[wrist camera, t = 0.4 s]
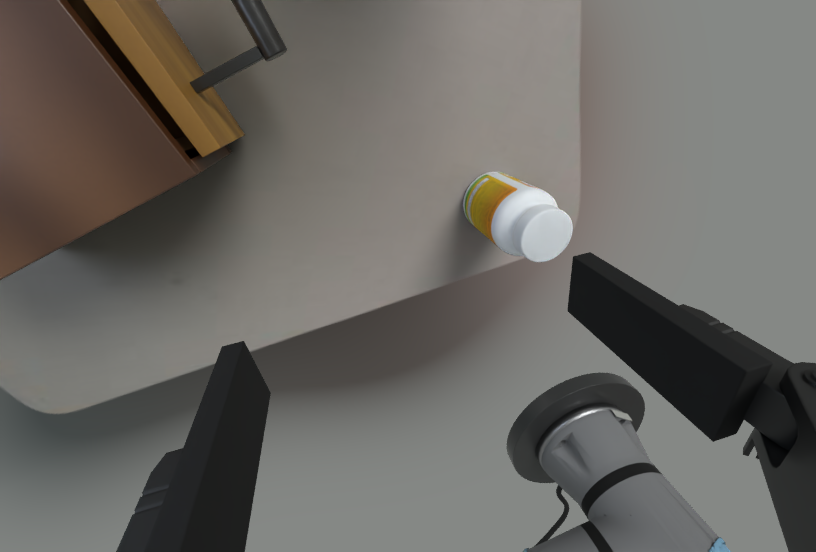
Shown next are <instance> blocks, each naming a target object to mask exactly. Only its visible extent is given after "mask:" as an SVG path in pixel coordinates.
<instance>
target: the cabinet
mask: <svg viewBox="0 0 816 552" xmlns="http://www.w3.org/2000/svg"><path fill="white" fill-rule="evenodd" d="M230 153H232V150H231V149H230V148H229V146H228V145H226V146H224V147H222V148H220V149H218V150H216V151H214V152H212V153H210V154H209V155H207V156H205V157H202V156H201V155H200V154H199V152H198V151H197V150H196V149H194V150H192V151H190V152H188V153H185V152H184V150H183V149H182V148H181V146H180V145H179V144H178V143H177V141H176V140H175V139H174V137H173V136H172V135H171V134H170V132H169V131H168V130H167V128H166V127H165V126H164V125H163V123H162V122H161V121H160V119H159V118H158V117H157V116H156V114H155V113H154V112H153V110H152V109H151V108H150V107H149V105H148V104H147V103H146V101H145V100H144V99H143V98H142V96H141V95H140V94H139V93H138V91H137V90H136V89H135V87H134V86H133V85H132V84H131V82H130V81H129V80H128V78H127V77H126V76H125V75H124V73H123V72H122V71H121V69H120V68H119V67H118V66H117V64H116V63H115V62H114V60H113V59H112V58H111V57H110V55H109V54H108V53H107V51H106V50H105V49H104V48H103V46H102V45H101V44H100V42H99V41H98V40H97V39H96V37H95V36H94V35H93V33H92V32H91V31H90V30H89V28H88V27H87V26H86V24H85V23H84V22H83V21H82V19H81V18H80V17H79V15H78V14H77V13H76V12H75V10H74V9H73V8H72V6H71V5H70V4H69V3H68V1H67V0H0V280H1V279H3V278H5V277H7V276H9V275H11V274H13V273H15V272H16V271H18V270H20V269H22V268H24V267H26V266H28V265H30V264H31V263H33V262H35V261H37V260H39V259H41V258H43V257H45V256H46V255H48V254H50V253H52V252H54V251H56V250H58V249H60V248H61V247H63V246H65V245H67V244H69V243H71V242H73V241H75V240H76V239H78V238H80V237H82V236H84V235H86V234H88V233H90V232H91V231H93V230H95V229H97V228H99V227H101V226H103V225H105V224H106V223H108V222H110V221H112V220H114V219H116V218H118V217H120V216H121V215H123V214H125V213H127V212H129V211H131V210H133V209H135V208H136V207H138V206H140V205H142V204H144V203H146V202H148V201H150V200H151V199H153V198H155V197H157V196H159V195H161V194H163V193H165V192H166V191H168V190H170V189H172V188H174V187H176V186H178V185H180V184H182V183H183V182H185V181H187V180H189V179H191V178H193V177H195V176H196V175H198V174H199V173H201V172H203V171H204V170H206V169H207V168H209V167H210V166H212V165H214V164H215V163H217V162H218V161H220V160H221V159H223V158H224V157H226V156H227V155H229V154H230Z"/></svg>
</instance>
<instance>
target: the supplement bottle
mask: <svg viewBox="0 0 816 552" xmlns="http://www.w3.org/2000/svg"><path fill="white" fill-rule="evenodd" d="M463 208H464V213H465V216H466V217H467V219H468V221H469V222H470V223H471V224H472V225H473V226H475V227H476V228H477V229H478V230H479V231H480V232H482V233H483V234H484V235H485V236H486V237H487V238H489V239H490V240H491V241H492V242H493V243H494V244H495V245H496V246H498V247H499V248H500V249H502V250H503V251H504V252H506V253H508V254H511V255H514V256H524V257H526V258H527V259H529V260H531V261H534V262H545V261H548V260H551V259H553V258H555V257H556V256H557V255H559V254H560V253H561V252H562V251H563V250H564V249H565V248H566V246H567V245H568V243H569V241H570V239H571V236H572V230H573V227H572V221H571V219H570V217H569V216H568V215H567V214H566V213H565V212H564V211H562V210H560V209H558V206H557V203H556V201H555V200H554V198H553V197H552V196H551V195H550V194H548V193H547V192H545V191H543V190H541V189H539V188H537V187H535V186H532V185H530V184H528V183H525V182H523V181H521V180H519V179H516V178H514V177H512V176H510V175H507V174H505V173H501V172H488V173H485V174H483V175H481V176H479V177H478V178H476V179H475V180H474V181H473V182H472V183H471V184H470V186H469V187H468V189H467V191H466V193H465V196H464V201H463Z"/></svg>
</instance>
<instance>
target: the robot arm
mask: <svg viewBox="0 0 816 552" xmlns="http://www.w3.org/2000/svg"><path fill="white" fill-rule="evenodd" d="M568 312H569V313H570V314H571V315H573V316H574V317H575V318H576V319H577V320H578V321H579V322H580V323H582V324H583V325H584V326H585V327H586V328H587V329H588V330H589V331H591V332H592V333H593V334H594V335H595V336H596V337H597V338H598V339H599V340H600V341H602V342H603V343H604V344H605V345H606V346H607V347H608V348H609V349H610V350H612V351H613V352H614V353H615V354H616V355H617V356H618V357H620V359H622V360H623V361H624V362H625V363H626V364H627V365H628V366H629V367H631V368H632V369H633V370H634V371H635V372H636V373H637V374H638V375H640V376H641V377H642V378H643V379H644V380H645V381H646V382H647V383H649V384H650V385H651V386H652V387H653V388H654V389H655V390H656V391H657V392H658V393H659V394H661V395H662V396H663V397H664V398H665V399H666V400H667V401H668V402H670V403H671V404H672V405H673V406H674V407H675V408H676V409H677V410H679V411H680V412H681V413H682V414H683V415H684V416H685V417H686V418H687V419H688V420H690V421H691V422H692V423H693V424H694V425H695V426H696V427H697V428H698V429H700V430H701V431H702V432H703V433H704V434H705V435H706V436H708V437H709V438H710V439H711V440H712V441H713V442H714V441H716V440H719V439H722V438H725V437H728V436H731V435H734V434H736V433H737V431H738V430H739V428H740V426H741V424H742V422H743V420H746V421H747V422H748V423H750V424H751V425H752V426H753V427H755V428H754V430H753V431H752V433H751V435H750V437H749V438H748V440H747V442H746V444H745V446H744V448H743V455H746V456H749V454H750V452H751V450H752V449H753V447H754V446H755V448H756V450H757V456H756V458H757V459H759V460H760V463H761V466H762V469H763V472H764V476H765V479H766V482H767V485H768V488H769V491H770V494H771V498H772V501H773V504H774V507H775V510H776V513H777V516H778V519H779V522H780V526H781V528H782V532H783V535H784V538H785V541H786V544H787V547H788V551H789V552H816V363H805V362H801V363H795V364H794V363H792V362H790V361H788V360H786V359H784V358H783V357H781V356H779V355H778V354H776V353H774V352H772V351H771V350H769V349H767V348H766V347H764V346H762V345H760V344H759V343H757V342H755V341H753V340H752V339H750V338H748V337H747V336H745V335H743V334H741V333H740V332H738V331H734V330H733V328H731V327H729V326H728V325H726V324H724V323H720V321H719V320H717V319H716V318H713V317H712V316H710V315H709V314H707V313H705V312H704V311H701V310H698V309H695V308H692V307H689V306H687V305H684V304H683V305H680V306H678V305H676V304H675V303H673V302H671V301H670V300H668V299H666V298H665V297H663V296H662V295H660V294H658V293H657V292H655V291H653V290H651V289H650V288H648V287H647V286H645V285H643V284H642V283H640V282H638V281H637V280H635V279H633V278H632V277H630V276H628V275H627V274H625V273H623V272H622V271H620V270H619V269H617V268H615V267H614V266H612V265H610V264H609V263H607V262H605V261H604V260H602V259H600V258H599V257H597V256H595V255H594V254H592V253H586V254H581V255H578V256H574V257H573V263H572V273H571V282H570V293H569V302H568ZM269 399H270V391H269V389H268V387H267V385H266V383H265V381H264V379H263V377H262V376H261V373H260V371H259V369H258V368H257V366H256V364H255V362H254V360H253V358H252V356H251V354H250V352H249V350H248V348H247V346H246V344H245V342H244V341H242V342H238V343H234V344H230V345H226V346H223V347H222V348H221V351H220V353H219V356H218V359H217V361H216V364H215V367H214V369H213V372H212V374H211V377H210V380H209V382H208V385H207V388H206V390H205V393H204V395H203V398H202V401H201V403H200V406H199V409H198V411H197V414H196V416H195V419H194V422H193V424H192V427H191V430H190V432H189V435H188V437H187V440H186V443H185V445H184V448H182V449H178V450H175V451H172V452H168V453H166V454H165V456H164V457H163V458H162V459H161V461H160V462H159V463H158V465H157V466H156V467H155V468H154V470H153V471H152V472H151V474H150V476H149V479H148V481H147V483H146V486H145V488H144V490H143V492H142V493H143V496H142V497H140V499H139V502H138V504H137V506H136V508H135V514H133V515H132V517H131V520H130V522H129V524H128V526H127V529H126V531H125V533H124V536H123V538H122V540H121V543H120V544H119V547H118V549H117V551H116V552H245V546H246V540H247V534H248V528H249V521H250V516H251V510H252V503H253V497H254V491H255V485H256V479H257V473H258V467H259V461H260V455H261V448H262V442H263V436H264V430H265V424H266V418H267V412H268V405H269ZM629 420H631V421H632V419H631V418H630V417H629V415H628V414H626V413H623V412H622V411H621V410H620V409H619V408H618V407H617V406H615V405H613V404H609V403H594V404H589V405H585V406H582V407H579V408H577V409H575V410H572V411H571V412H569V413H567V414H565V415H564V416H562V417H561V418H559V419H558V420H557V421H555V422H554V423H553V424H552V425H551V426H550V427H549V428H548V429H547V430H546V431H545V433H544V434H543V435H542V437H541V439H540V440H539V442H538V445H537V449H536V456H537V459H538V461H539V463H540V465H541V466H542V468H543V469H544V471H545V472H546V473H547V474H548V475H549V476H550V477H551V478H552V479H553V480H554V481H555V482H556V483H557V484H558V487H557V489H556V493H557V496H558V498H559V499H560V500H561V502H562V503H563V504H564V507H565V508H564V512H563V514H562V516H561V517H560V518H559V520H558V521H557V522H556V523H555V525H554V526H553V527H552V528H551V529H550V530H549V532H548V533H547V534H546V535H545V536H544V537H543V538H542V539H541V540H540V541H539V542H538V543H537V544H536V545H535V546H534V547H532V548H530V549H529V548H527V549H525V550H524V551H523V552H731V551H730V550H729V549H728V548H727V547H726V545H725V542H724V541H723V539H722V538H720V537H718V536H717V535H716V534H715V533H714V532H713V530H712V529H711V528H710V527H709V526H708V525H707V524H706V523H705V522H704V520H703V519H702V518H701V517H700V516H699V515H698V514H697V513H696V511H695V510H694V509H693V508H692V507H691V506H690V505H689V504H688V503H687V501H686V500H685V499H684V498H683V497H682V496H681V495H680V494H679V493H678V491H677V490H676V489H675V488H674V487H673V486H672V485H671V484H670V483H669V481H668V480H667V479H666V478H665V477H664V476H663V475H662V474H661V473H660V472H659V471H658V469H657V468H656V467H655V466H654V465H653V463H652V462H651V461H650V459H649V458H648V456H647V454H646V452H645V450H644V448H643V446H642V444H641V442H640V440H639V438H638V436H637V434H636V432H635V430H634V428H633V426H632V424H631V422H630V421H629ZM562 489H563V490H564V491H565V492H567V493H568V494H569V495H570V496H571V497H572V498H573V499H574V500H575V501H576V502H577V503H578V504H579V505H580V507H581V509H582V510H583V512H584V513H585V515H586V516H587V518H588V519H589V521H588V522H586V523H584V524H581V525H579V526H577V527H575V528H573V529H571V530H569V531H566V532H564V533H562V534H561V535H558V536H556V537H554V538H552V539H550V540H548V539H549V538H550V537H551V536H552V535H553V534H554V532H555V531H556V530H557V529H558V528H559V527H560V526H561V524H562V523H563V522H564V520H565V519H566V517H567V515H568V512H569V505H568V503H567V501H566V500H565V499H564V497H563V496H562V494H561V490H562ZM547 540H548V541H547Z"/></svg>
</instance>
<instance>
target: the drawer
mask: <svg viewBox="0 0 816 552" xmlns="http://www.w3.org/2000/svg"><path fill="white" fill-rule="evenodd" d="M67 1H68V3H69V4H70V5H71V6H72V8H73V9H74V10H75V12H76V13H77V14H78V15H79V17H80V18H81V19H82V21H83V22H84V23H85V24H86V26H87V27H88V28H89V30H90V31H91V32H92V33H93V35H94V36H95V37H96V39H97V40H98V41H99V42H100V44H101V45H102V46H103V48H104V49H105V50H106V51H107V53H108V54H109V55H110V57H111V58H112V59H113V60H114V62H115V63H116V64H117V66H118V67H119V68H120V69H121V71H122V72H123V73H124V75H125V76H126V77H127V78H128V80H129V81H130V82H131V84H132V85H133V86H134V87H135V89H136V90H137V91H138V93H139V94H140V95H141V96H142V98H143V99H144V100H145V101H146V103H147V104H148V105H149V107H150V108H151V109H152V110H153V112H154V113H155V114H156V116H157V117H158V118H159V119H160V121H161V122H162V123H163V125H164V126H165V127H166V128H167V130H168V131H169V132H170V134H171V135H172V136H173V137H174V139H175V140H176V141H177V143H178V144H179V145H180V146H181V148H182V149H183V150H184V152H185V153H188V152H190V151H192V150H194V149H196V150H197V151H198V152H199V154H200V155H201V156H202V157H205V156H207V155H209V154H210V153H212V152H214V151H216V150H218V149H220V148H222V147H224V146H226V145H227V144H229V143H231V142H233V141H235V140H237V139H239V138H241V137H242V136H244V135H245V134H244V133H243V131H242V130H241V128H240V127H239V125H238V124H237V122H236V121H235V119H234V118H233V116H232V115H231V113H230V112H229V110H228V109H227V107H226V106H225V104H224V103H223V101H222V100H221V98H220V97H219V95H218V94H217V92H216V91H215V89H214V88H213V86H214V85H216V84H218V83H220V82H222V81H224V80H226V79H227V78H229V77H231V76H233V75H235V74H237V73H239V72H240V71H242V70H244V69H246V68H248V67H250V66H252V65H253V64H255V63H257V62H259V61H261V60H263V59H265V60H266V61H270V60H273V59H275V58H277V57H279V56H281V55H282V54H284V53H285V52H286V51H287V48H286V46H285V44H284V42H283V40H282V39H281V37H280V35H279V33H278V31H277V29H276V27H275V25H274V24H273V22H272V20H271V18H270V16H269V14H268V12H267V10H266V9H265V7H264V5H263V3H262V1H261V0H231V1H232V3H233V5H234V6H235V8H236V10H237V12H238V13H239V15H240V17H241V19H242V20H243V22H244V24H245V26H246V27H247V29H248V31H249V33H250V34H251V36H252V38H253V40H254V41H255V43H256V45H257V46H256V47H254V48H252V49H250V50H248V51H246V52H245V53H243V54H241V55H239V56H237V57H235V58H233V59H232V60H230V61H228V62H226V63H224V64H222V65H221V66H219V67H217V68H215V69H213V70H211V71H209V72H208V73H206V74H204V73H203V71H202V70H201V68H200V67H199V65H198V64H197V62H196V61H195V59H194V58H193V56H192V55H191V53H190V52H189V50H188V49H187V47H186V46H185V44H184V43H183V41H182V40H181V38H180V37H179V35H178V34H177V32H176V31H175V29H174V28H173V26H172V25H171V23H170V22H169V20H168V19H167V17H166V16H165V14H164V13H163V11H162V10H161V8H160V7H159V5H158V4H157V2H156V1H155V0H67Z"/></svg>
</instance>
